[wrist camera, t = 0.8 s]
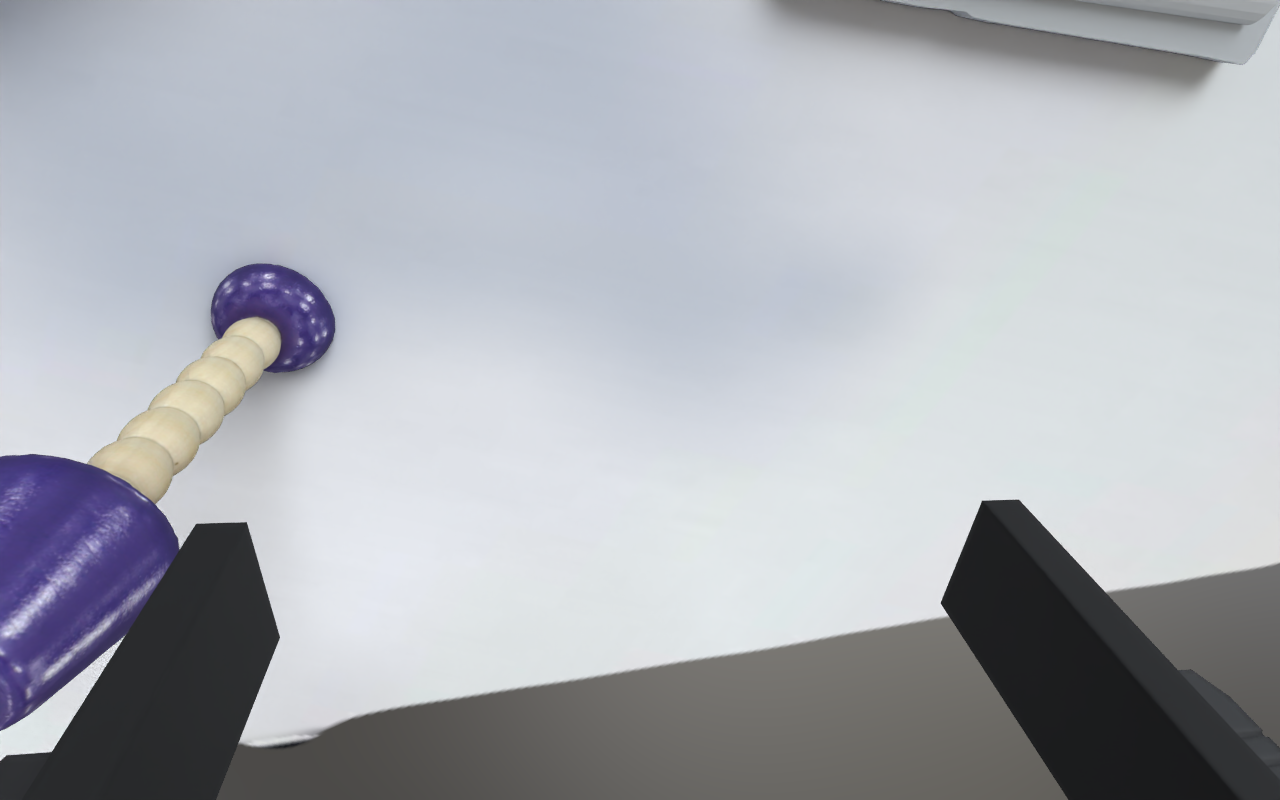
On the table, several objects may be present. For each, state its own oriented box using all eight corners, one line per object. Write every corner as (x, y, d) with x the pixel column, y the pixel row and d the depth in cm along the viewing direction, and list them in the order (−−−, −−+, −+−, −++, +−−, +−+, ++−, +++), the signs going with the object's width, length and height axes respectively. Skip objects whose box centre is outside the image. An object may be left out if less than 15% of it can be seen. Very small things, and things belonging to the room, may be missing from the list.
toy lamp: (213, 364, 27) (-160, 786, 13) (183, 247, 24) (-314, 604, 10) (342, 366, 28) (129, 769, 13) (326, 253, 25) (46, 594, 11)
